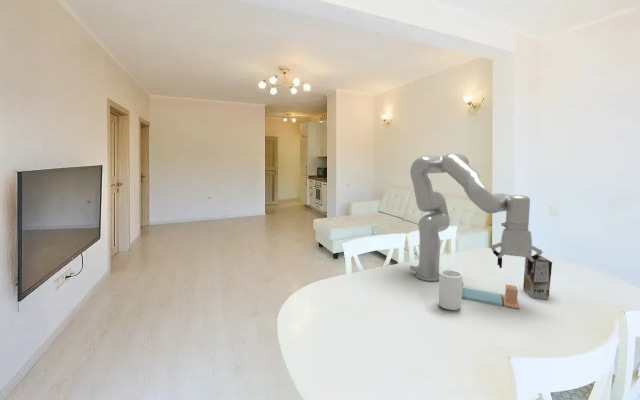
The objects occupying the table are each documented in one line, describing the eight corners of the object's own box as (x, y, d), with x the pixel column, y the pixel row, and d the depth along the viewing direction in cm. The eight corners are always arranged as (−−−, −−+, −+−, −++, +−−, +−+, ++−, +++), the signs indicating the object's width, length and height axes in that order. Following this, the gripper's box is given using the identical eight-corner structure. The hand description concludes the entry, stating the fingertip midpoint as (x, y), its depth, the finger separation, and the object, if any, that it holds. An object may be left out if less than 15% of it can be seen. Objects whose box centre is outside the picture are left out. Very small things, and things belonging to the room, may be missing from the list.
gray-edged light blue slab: (453, 298, 126) (454, 291, 126) (455, 287, 138) (456, 280, 137) (503, 308, 118) (504, 300, 118) (501, 295, 129) (502, 288, 129)
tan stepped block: (504, 306, 119) (505, 291, 118) (502, 296, 128) (503, 282, 127) (519, 308, 117) (520, 293, 116) (516, 298, 126) (517, 284, 125)
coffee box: (549, 299, 125) (553, 262, 123) (532, 298, 126) (535, 261, 124) (538, 290, 134) (541, 255, 132) (522, 289, 135) (525, 254, 133)
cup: (460, 304, 121) (461, 270, 119) (462, 314, 113) (464, 278, 111) (437, 301, 124) (438, 268, 122) (438, 311, 116) (439, 275, 114)
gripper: (491, 226, 119) (489, 268, 121) (545, 230, 111) (542, 275, 113) (491, 223, 126) (489, 263, 127) (542, 226, 118) (539, 268, 119)
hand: (514, 268), depth 120 cm, fingers open, 9 cm apart
